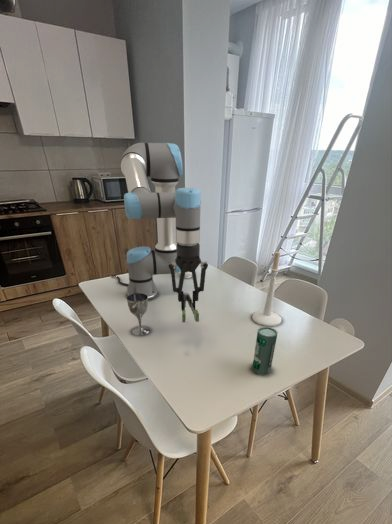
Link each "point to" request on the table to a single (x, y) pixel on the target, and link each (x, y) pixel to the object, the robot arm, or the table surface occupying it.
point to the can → (264, 350)
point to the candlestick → (269, 300)
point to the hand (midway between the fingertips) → (188, 309)
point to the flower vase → (187, 274)
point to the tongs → (189, 300)
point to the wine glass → (138, 310)
